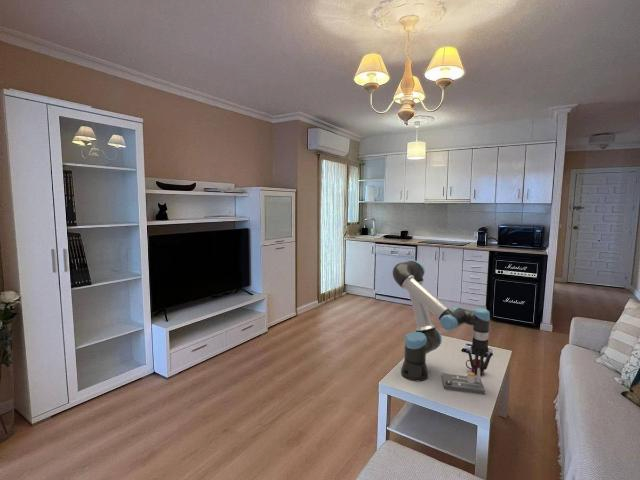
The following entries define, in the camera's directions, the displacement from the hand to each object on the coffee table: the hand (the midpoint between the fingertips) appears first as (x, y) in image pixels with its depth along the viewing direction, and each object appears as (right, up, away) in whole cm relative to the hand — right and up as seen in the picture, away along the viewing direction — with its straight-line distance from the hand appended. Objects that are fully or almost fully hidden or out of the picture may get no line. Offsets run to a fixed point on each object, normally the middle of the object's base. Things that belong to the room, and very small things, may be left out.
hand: (477, 380), depth 186 cm
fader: (-3, -1, +1) cm, 4 cm away
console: (-7, -3, +2) cm, 8 cm away
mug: (+6, -2, +17) cm, 18 cm away
